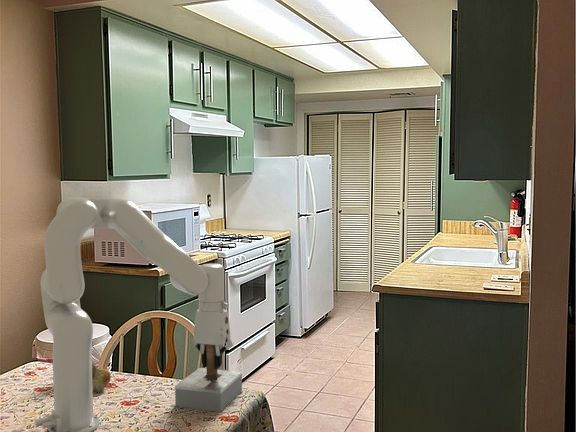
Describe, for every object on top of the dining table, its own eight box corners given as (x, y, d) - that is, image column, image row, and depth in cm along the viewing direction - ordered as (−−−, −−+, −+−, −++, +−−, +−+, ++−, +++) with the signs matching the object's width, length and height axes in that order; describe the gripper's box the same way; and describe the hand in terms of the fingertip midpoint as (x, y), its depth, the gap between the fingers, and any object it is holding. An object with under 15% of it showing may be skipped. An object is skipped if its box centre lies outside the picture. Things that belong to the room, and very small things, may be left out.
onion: (102, 395, 175) (101, 369, 174) (78, 393, 177) (77, 367, 176) (115, 386, 182) (115, 361, 181) (93, 384, 184) (92, 359, 184)
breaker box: (220, 412, 163) (220, 390, 162) (175, 406, 167) (175, 385, 166) (241, 391, 178) (241, 371, 178) (200, 386, 182) (199, 367, 182)
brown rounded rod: (209, 381, 172) (209, 341, 171) (204, 378, 174) (204, 338, 173) (219, 379, 173) (219, 339, 173) (214, 376, 176) (214, 336, 175)
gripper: (242, 305, 173) (242, 365, 175) (192, 301, 178) (192, 360, 180) (232, 310, 166) (232, 374, 168) (180, 306, 171) (181, 368, 172)
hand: (211, 366), depth 174 cm, fingers closed on brown rounded rod, 3 cm apart
